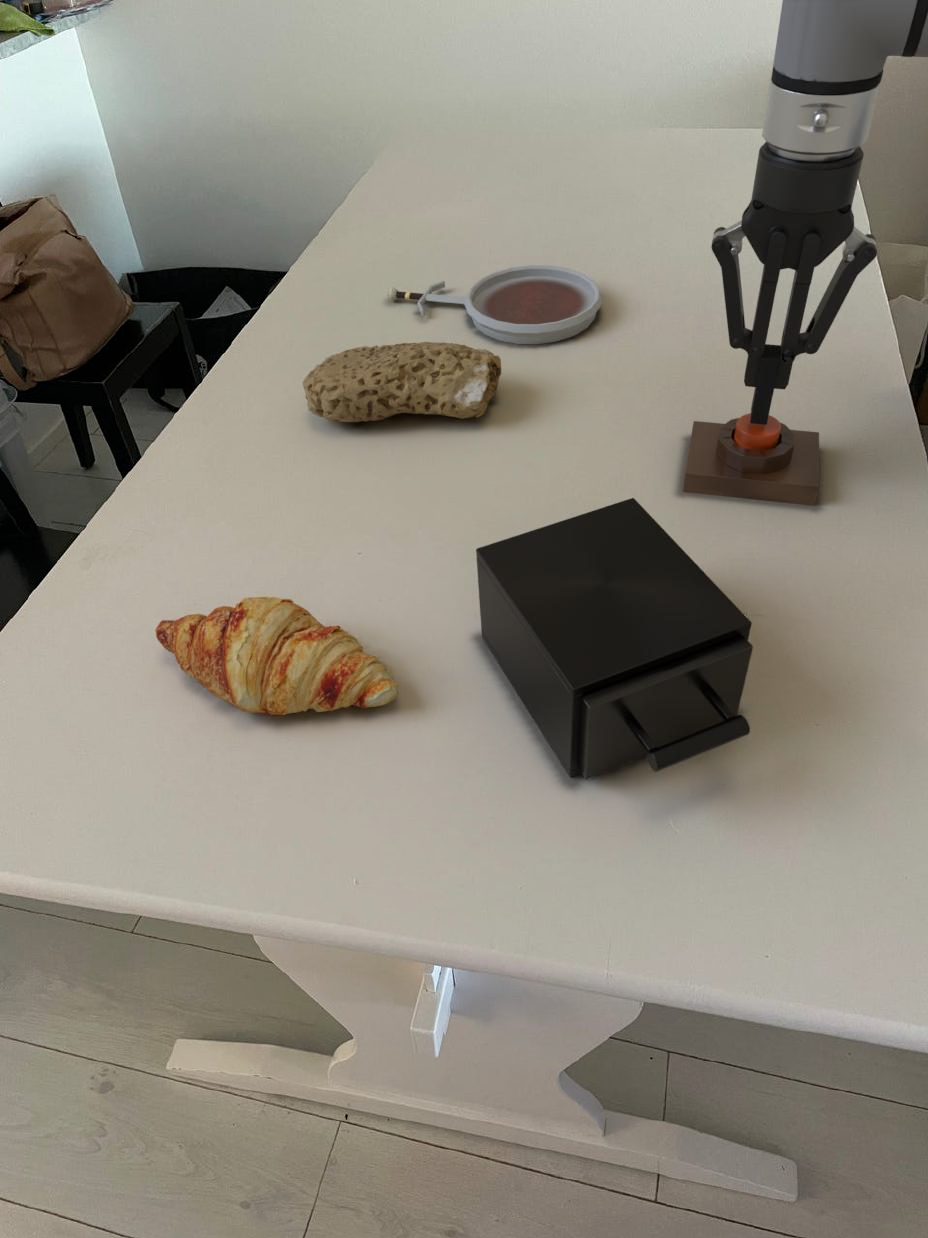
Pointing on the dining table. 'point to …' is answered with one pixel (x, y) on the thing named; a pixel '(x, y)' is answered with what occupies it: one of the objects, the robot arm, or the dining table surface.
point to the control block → (753, 465)
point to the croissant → (276, 659)
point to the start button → (757, 433)
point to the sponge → (403, 382)
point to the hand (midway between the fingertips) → (758, 415)
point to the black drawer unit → (593, 611)
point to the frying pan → (524, 303)
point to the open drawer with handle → (666, 710)
